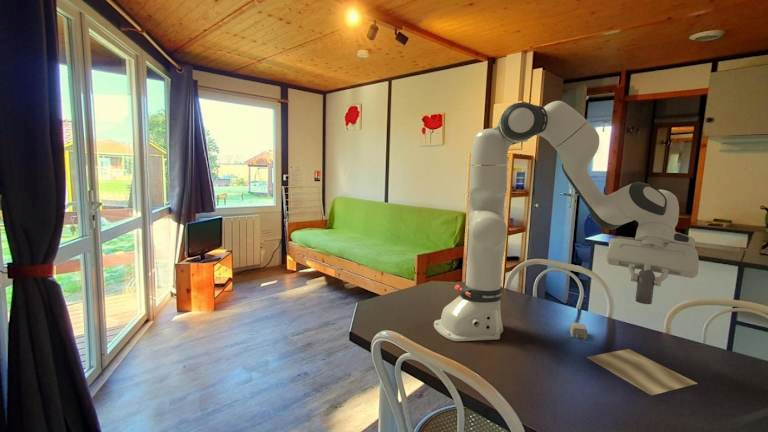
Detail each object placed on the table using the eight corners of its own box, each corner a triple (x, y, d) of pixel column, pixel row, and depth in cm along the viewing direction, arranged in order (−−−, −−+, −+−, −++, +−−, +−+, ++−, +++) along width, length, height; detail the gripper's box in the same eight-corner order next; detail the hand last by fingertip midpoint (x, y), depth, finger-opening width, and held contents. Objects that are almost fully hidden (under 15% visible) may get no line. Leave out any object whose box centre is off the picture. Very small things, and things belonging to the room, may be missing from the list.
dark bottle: (645, 304, 96) (649, 266, 95) (632, 300, 100) (636, 262, 98) (655, 303, 97) (659, 265, 96) (641, 298, 101) (645, 262, 100)
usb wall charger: (583, 336, 118) (585, 324, 118) (588, 345, 112) (589, 333, 111) (570, 333, 120) (571, 322, 119) (573, 343, 113) (574, 331, 112)
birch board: (650, 399, 86) (651, 395, 86) (585, 360, 103) (586, 357, 103) (697, 387, 92) (697, 383, 91) (628, 352, 108) (628, 348, 108)
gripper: (610, 228, 108) (599, 268, 102) (702, 239, 95) (696, 285, 89) (611, 241, 112) (601, 280, 106) (700, 253, 99) (694, 298, 93)
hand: (645, 282), depth 97 cm, fingers closed on dark bottle, 4 cm apart
